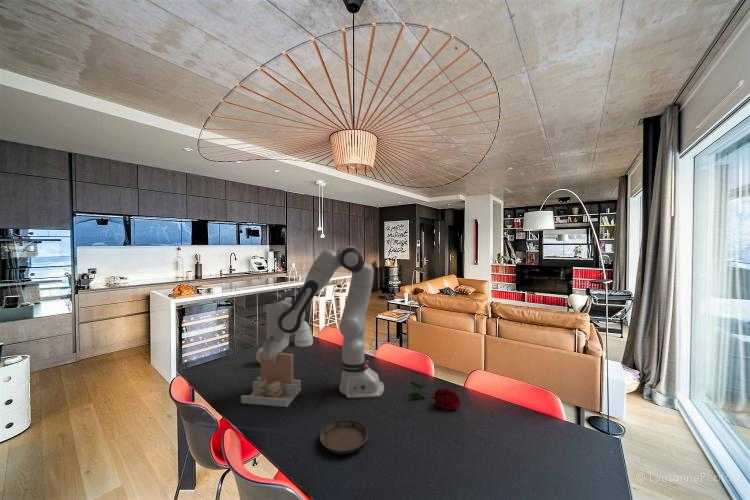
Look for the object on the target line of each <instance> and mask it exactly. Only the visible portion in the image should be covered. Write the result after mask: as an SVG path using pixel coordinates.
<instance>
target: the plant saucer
mask: <svg viewBox="0 0 750 500" xmlns="http://www.w3.org/2000/svg"><path fill="white" fill-rule="evenodd" d="M368 437H369V431H368V429H367V427H366V426H365V425H364V424H363V423H362V422H360V421H357V420H354V419H338V420H335V421H332V422H330V423H328V424H326V426H324V427H323V428H322V429H321V431H320V433H319V439H320V440H319V441H320V442H321V444H322V445H323V447H324V448H325V449H327V450H328V452H330V453H333V454H336V455H349V454H352V453H354V452H356V451H358V450H359V449H360V448H362V446H363V445H364V444H365V443H366V442H367V439H368Z"/></svg>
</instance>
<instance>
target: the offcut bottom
mask: <svg viewBox="0 0 750 500" xmlns="http://www.w3.org/2000/svg"><path fill="white" fill-rule="evenodd" d="M255 396H256V395H255ZM261 397H262V396H261ZM284 397H285V391H282V393H281V394H280V395H279V396H278V397H277V398H284ZM273 398H274V397H273Z"/></svg>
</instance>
